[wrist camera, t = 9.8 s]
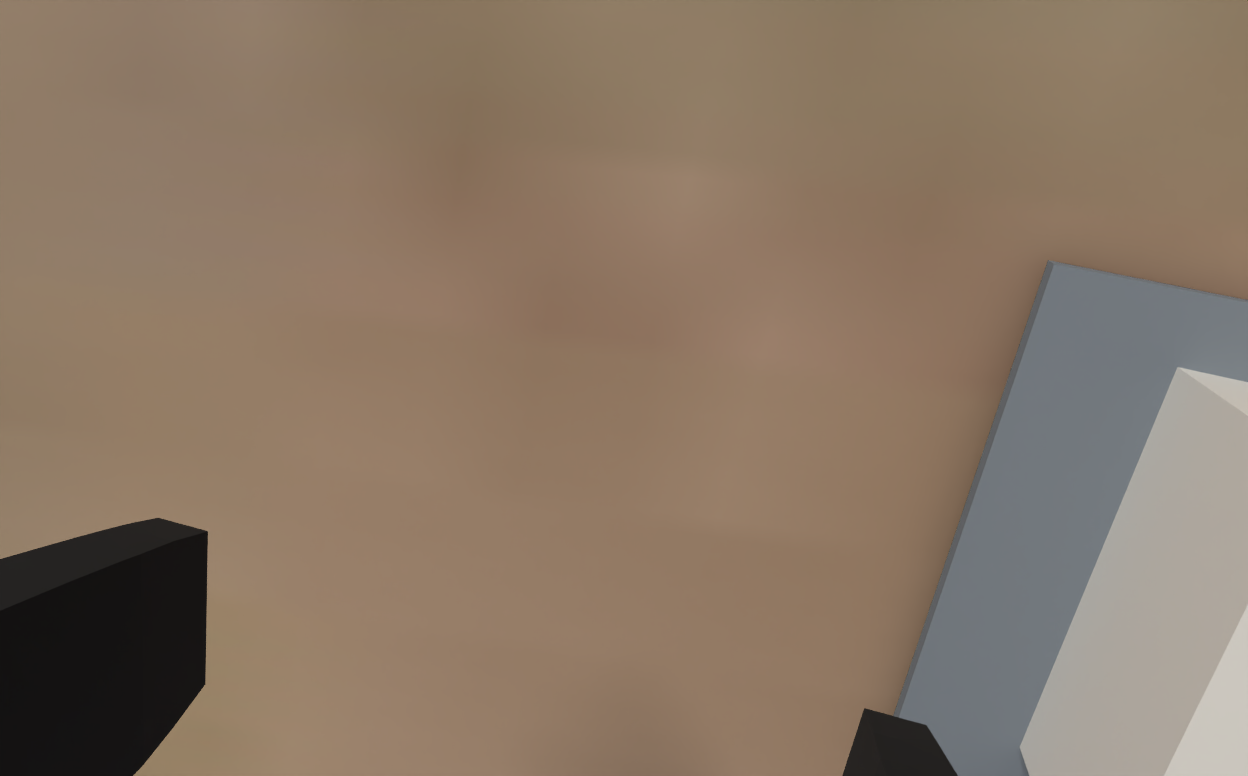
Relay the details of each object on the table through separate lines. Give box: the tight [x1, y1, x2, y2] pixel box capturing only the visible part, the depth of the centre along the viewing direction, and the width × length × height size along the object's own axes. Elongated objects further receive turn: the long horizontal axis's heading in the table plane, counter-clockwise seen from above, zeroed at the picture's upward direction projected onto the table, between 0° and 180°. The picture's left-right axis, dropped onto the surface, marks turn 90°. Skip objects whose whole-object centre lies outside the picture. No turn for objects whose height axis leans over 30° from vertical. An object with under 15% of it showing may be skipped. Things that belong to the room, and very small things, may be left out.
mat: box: [893, 260, 1248, 776], centre depth 17 cm, size 12×9×1 cm
